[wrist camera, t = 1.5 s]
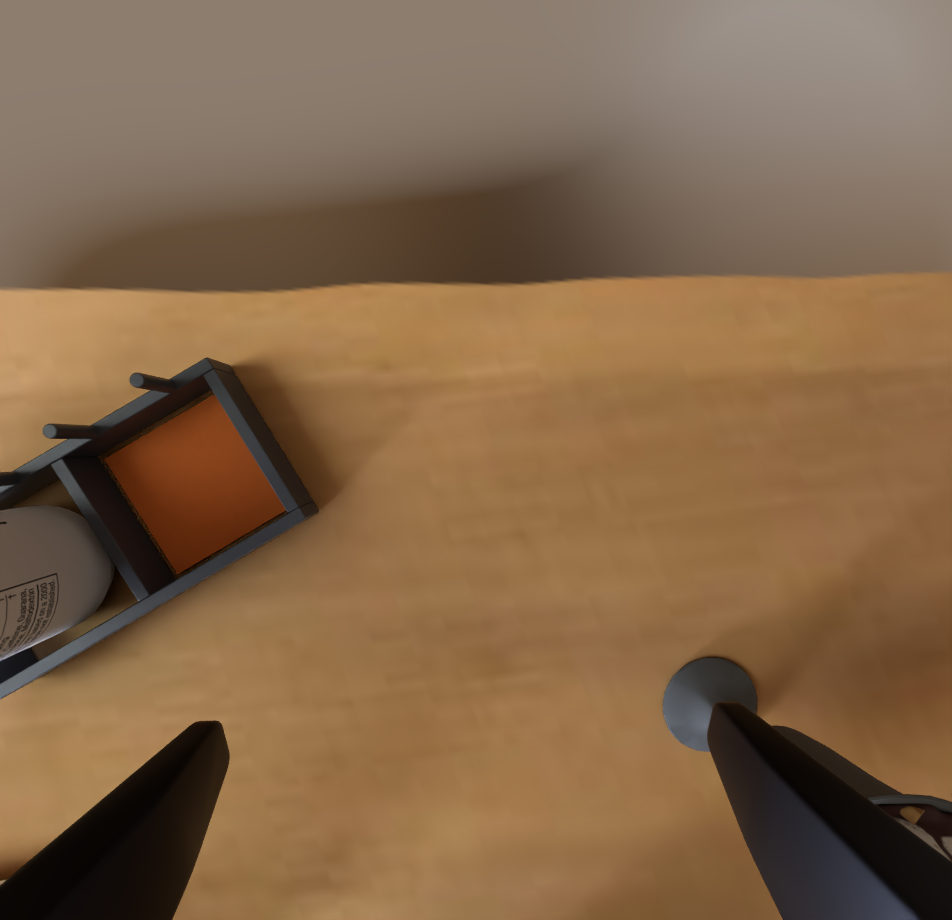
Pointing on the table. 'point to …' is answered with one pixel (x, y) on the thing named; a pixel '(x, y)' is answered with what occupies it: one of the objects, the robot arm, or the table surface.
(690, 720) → the sundae
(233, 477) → the mat
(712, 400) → the table surface
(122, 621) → the dark grey divided frame
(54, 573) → the energy drink can
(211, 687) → the table surface
